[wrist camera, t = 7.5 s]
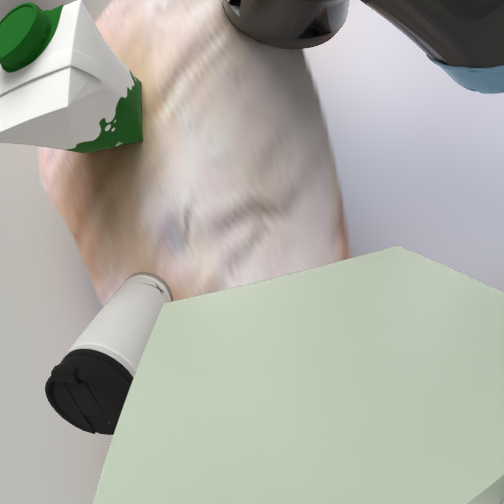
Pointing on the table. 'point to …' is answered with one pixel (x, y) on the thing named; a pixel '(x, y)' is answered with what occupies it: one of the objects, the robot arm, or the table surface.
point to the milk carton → (64, 82)
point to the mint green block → (320, 392)
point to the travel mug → (107, 356)
